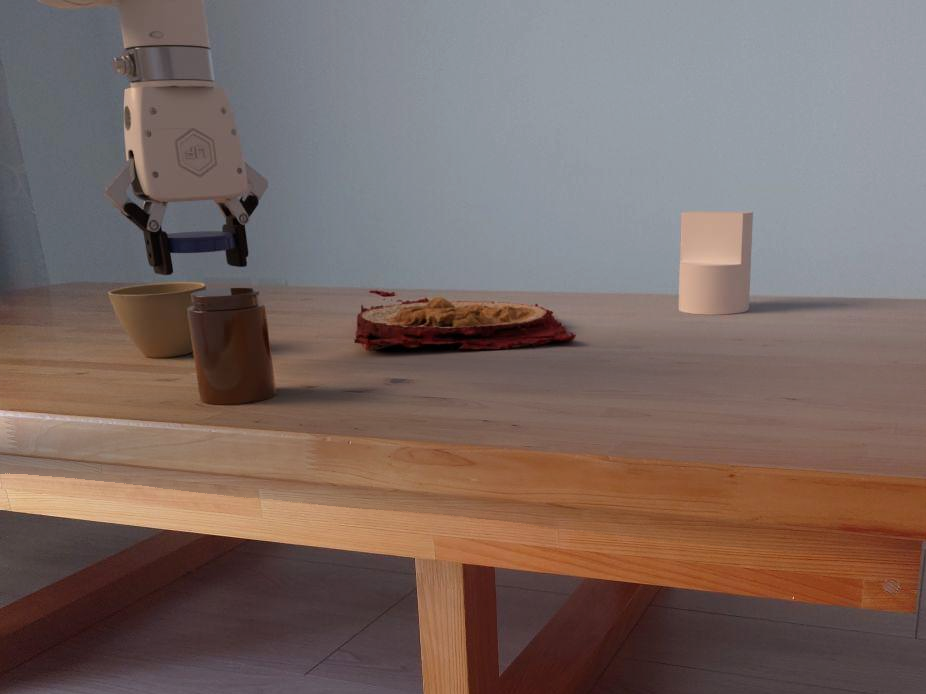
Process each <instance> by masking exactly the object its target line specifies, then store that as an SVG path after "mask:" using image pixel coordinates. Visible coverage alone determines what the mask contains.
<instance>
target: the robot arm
mask: <svg viewBox="0 0 926 694" xmlns="http://www.w3.org/2000/svg"><path fill="white" fill-rule="evenodd" d="M36 1H37V2H39V3H41V4H43V5H45V6H47V7H52V8H56V9H61V10H78V9H87V8H97V7H98V8H99V7H115V8H117V13H118V18H119V23H120V30H121V37H122V42H123V48H124V50H122V55H120V56H118V57H117V56H112V57H111V68H112V71H113V73H114V74H122V76H125V77H126V80H127V83H129V84H130V87H128V88H125V89H124V93H123V95H124V96H123V131H124V132H123V133H124V146H125V147H124V148H125V157H126V162H125V163H124V164H123V165H122V166H121V167H120V168H119V170H118V171H117V172H116V173H115V174H114V175H113V176H112V177H111V179H109V181H108V182H107V183H106V184H105V185H104V186H103V188H101V189H102V191H101V192H102V194H103V196H104V197H105V198H106V199H107V200H108V201H109V202H110V203H111V204H112V205H113V206H114V207H116V208H117V209H118V210H119V211H120V213H121V214H122V215H123V216H124V217H126V218H127V219H128V220H129V221H130V222H131V223H132V224H134V225H135V226H136V227H137V229H138V230H139V231H141V232H142V234H143V239H144V245H145V251H146V257H147V261H148V265H149V266H150V267H153V272H154V273H155V275H161V276H170V275H172V274H174V267H173V259H172V253H170V247H169V241H168V235H167V234H168V233H167V232H166V231H165V230H163V229H162V222H163V221H164V220H163V219H164V216H165V214H166V209H167V207H168V203H180V202H181V203H182V202H194V201H195V202H197V201H212V200H213V201H214V203H215V204H216V206H217V208H218V209H219V211H220V212H221V214H222V215H223V217H224V220H225V224H222V227H221V229H222V231H226V232H232V233H233V237H235V245H236V247H235V248H233V249H230V250H224V252H225V257H226V263H227V265H229V266H230V267H236V268H237V267H239V268H246V267H247V266H248V261H247V258H248V257H249V246H248V238H247V232H246V225H248V224H249V222H250V217H252V215H253V213H254V211H255V210H256V208H258V206H259V203H260V202H259V201H260V200H261V199H262V197H263V195H264V194H265V193H266V190H267V188H268V187H269V181H268V179H266V177H264V176H263V175H262V174H260V173H259V172H258V171H257V170H255V169H254V168H253V167H252V166H251V165H249V164H248V163H247V162H246V161H245V158H244V153H243V150H242V143H241V139H240V134H239V130H238V126H237V122H236V119H235V116H234V112H233V108H232V106H231V102H230V99H229V97H228V93H227V91H226V88H225V87H217V86H216V78H215V71H214V64H213V56H212V50H211V42H210V34H209V28H208V20H207V12H206V6H205V0H36ZM129 187H130V188H131V190H132V194H133V195H134V196H135V197H136V199H139V200H141V201H142V204H141V207H140V206H139V205H138V204H137V203H135V202H134V201H133V200H132V199H131V198H130V197H129V196H128V194H127V190H128V188H129Z"/></svg>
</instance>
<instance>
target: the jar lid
mask: <svg viewBox="0 0 926 694" xmlns="http://www.w3.org/2000/svg"><path fill="white" fill-rule="evenodd" d="M167 235H168V241H169V247H170V254H200V253H213V252H214V253H215V252H225V250H230V249H233V248H235V247H236V245H235V237H233V233H232V232H226V231H221V230H204V231H203V230H202V231H185V232H184V231H183V232H172V233H167Z"/></svg>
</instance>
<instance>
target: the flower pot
mask: <svg viewBox="0 0 926 694" xmlns="http://www.w3.org/2000/svg"><path fill="white" fill-rule="evenodd" d="M203 290H207V285H206V283H203V282H195V281H177V282H176V281H175V282H173V281H172V282H157V283H146V284H138V285H130V286H125V287H120V288H119V287H118V288H115V289H113V290H110V291H108V292H107V293H108V294H107V295H108V297H109V300H110V303H111V306H112V308H113V311H114V313H115V315H116V317H117V318H118V321H119V323H120V324H121V326H122V328H123V329H124V331H125V332H126V335H127V336H128V337H129V339H130V340H131V341H132V343H133V344H134V345H135V346H136V348H137V349H139V351H140V352H141V353H142V354H143V356H145V357H146V358H147V357H148V358H153V359H159V358H161V359H162V358H174V357H180V356H184V355H185V356H186V355H189V354H190V353H193V348H192V342H191V335H190V328H189V322H188V315H187V308H189V307H191V306H192V305H191V304H190V302H192V301H191V294H192V293H194V292H198V291H203Z"/></svg>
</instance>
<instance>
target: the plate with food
mask: <svg viewBox="0 0 926 694" xmlns="http://www.w3.org/2000/svg"><path fill="white" fill-rule="evenodd" d="M368 293H370V294H374V295H375V294H376V295H378V296H381V297H384V298H383V299H382V300H383V301H385V300H386V298H389V297H395V296H396V293H395V291H391V292H389V291H384V290H377V289H375V290H373V289H371V290H369V291H368ZM390 301H393V299H390ZM396 302H401V303H399V304H389V305H384V306H383V304H381V305H377V306H374V305H371V306H370V308H366V307H364V305H363V304H361V305H360V308H361V310H360V312H359V313H358V314H357V315H356V332H355V338H354V340H353V341H354V344H361V346H362V347H363V348H364V350H365V351H368V350H371V351H372V350H373V351H375V350H380V349H387V348H389V347H393V346H397V345H401V346H403V347H405V348H411V349H412V348H418V347H421V345H423V346H422V347H423V348H424V347H425V346H424V345H445V344H448V345H451V344H462V345H461V346H460V347H458V348H457V349H458V350H462V349H463V350H467V349H468V350H470V349H471V350H483V349H486V350H488V349H489V350H497V349H499V350H501V349H507V350H508V349H509V348H521V347H530V345H531V346H540V345H546V344H549V343H551V342H552V341H554V342H557V341H574V340H575V339H576V336H577V334H574V333H573V332H569V334H568V333H567V329H566V326H565V325H562V322H561V321H558V320H557V319H555V316H554V315H553V314H554V311H552V310H549V309H547V308H544V307H543V306H539V305H538V303H535V304H534V305H533V304H526V303H525V304H522V303H516V302H515V303H511V302H505V301H502V302H501V301H498V302H495V301H485V300H484V301H473V300H472V301H471V300H464V301H462V300H457V301H454V300H452V301H449V300H447V299H446V298H444V297H441V296H437V297H433V298H432V299H430V300H429V298H427V297H424V298H420V299H418V300H412V301H410V300H409V299H407V300H406V301H403V300H401V299H396ZM450 349H452V347H450Z"/></svg>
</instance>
